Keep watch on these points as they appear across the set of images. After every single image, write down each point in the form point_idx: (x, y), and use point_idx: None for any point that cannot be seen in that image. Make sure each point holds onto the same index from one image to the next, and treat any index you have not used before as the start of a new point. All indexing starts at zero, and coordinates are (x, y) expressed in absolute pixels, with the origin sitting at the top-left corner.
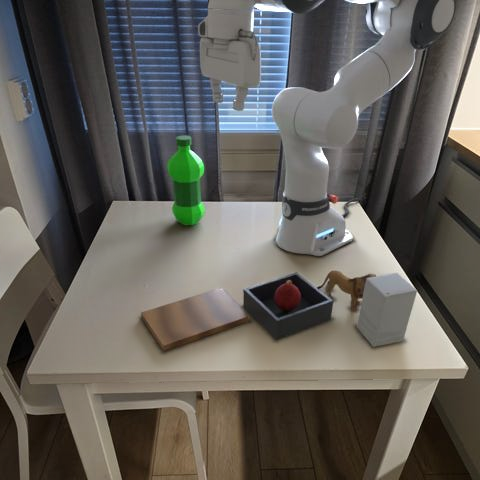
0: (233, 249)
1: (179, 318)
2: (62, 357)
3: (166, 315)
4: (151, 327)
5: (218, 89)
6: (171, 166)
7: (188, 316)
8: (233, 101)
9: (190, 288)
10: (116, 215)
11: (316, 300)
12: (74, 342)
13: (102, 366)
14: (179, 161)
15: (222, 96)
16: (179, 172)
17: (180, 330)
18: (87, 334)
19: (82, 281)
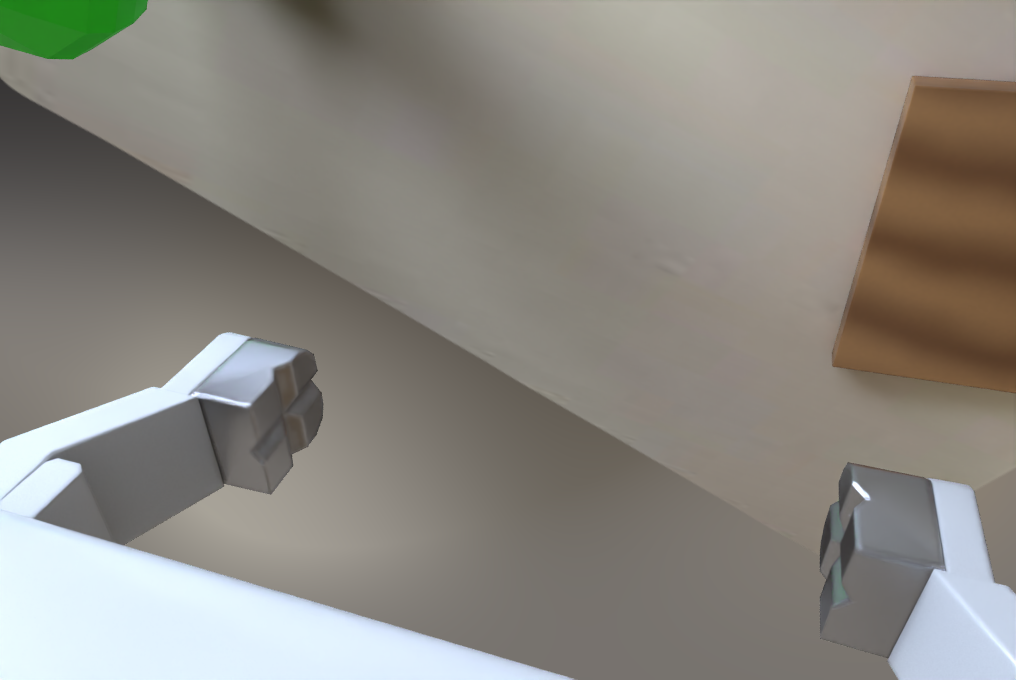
0: None
1: (962, 304)
2: None
3: (911, 324)
4: (930, 379)
5: (157, 454)
6: (65, 54)
7: (978, 278)
8: (832, 629)
9: (790, 158)
10: (120, 132)
11: None
12: (806, 492)
13: None
14: (51, 23)
15: (267, 391)
16: (120, 22)
17: None
18: (796, 465)
19: (539, 382)
